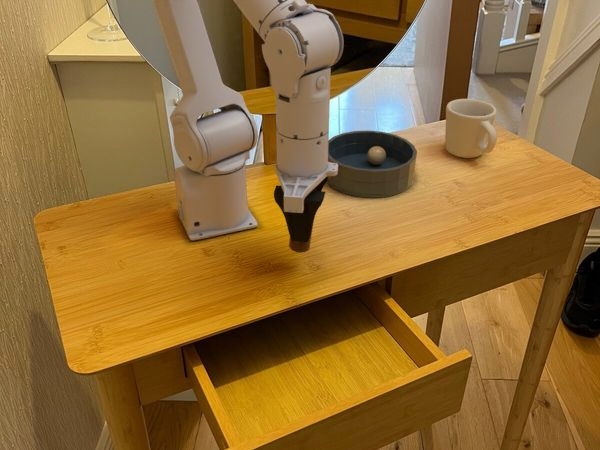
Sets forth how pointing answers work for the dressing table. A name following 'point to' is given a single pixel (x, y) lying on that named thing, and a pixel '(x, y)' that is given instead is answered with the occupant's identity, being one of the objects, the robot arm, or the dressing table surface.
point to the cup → (470, 127)
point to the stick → (300, 243)
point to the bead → (376, 155)
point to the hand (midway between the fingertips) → (301, 233)
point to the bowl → (365, 176)
